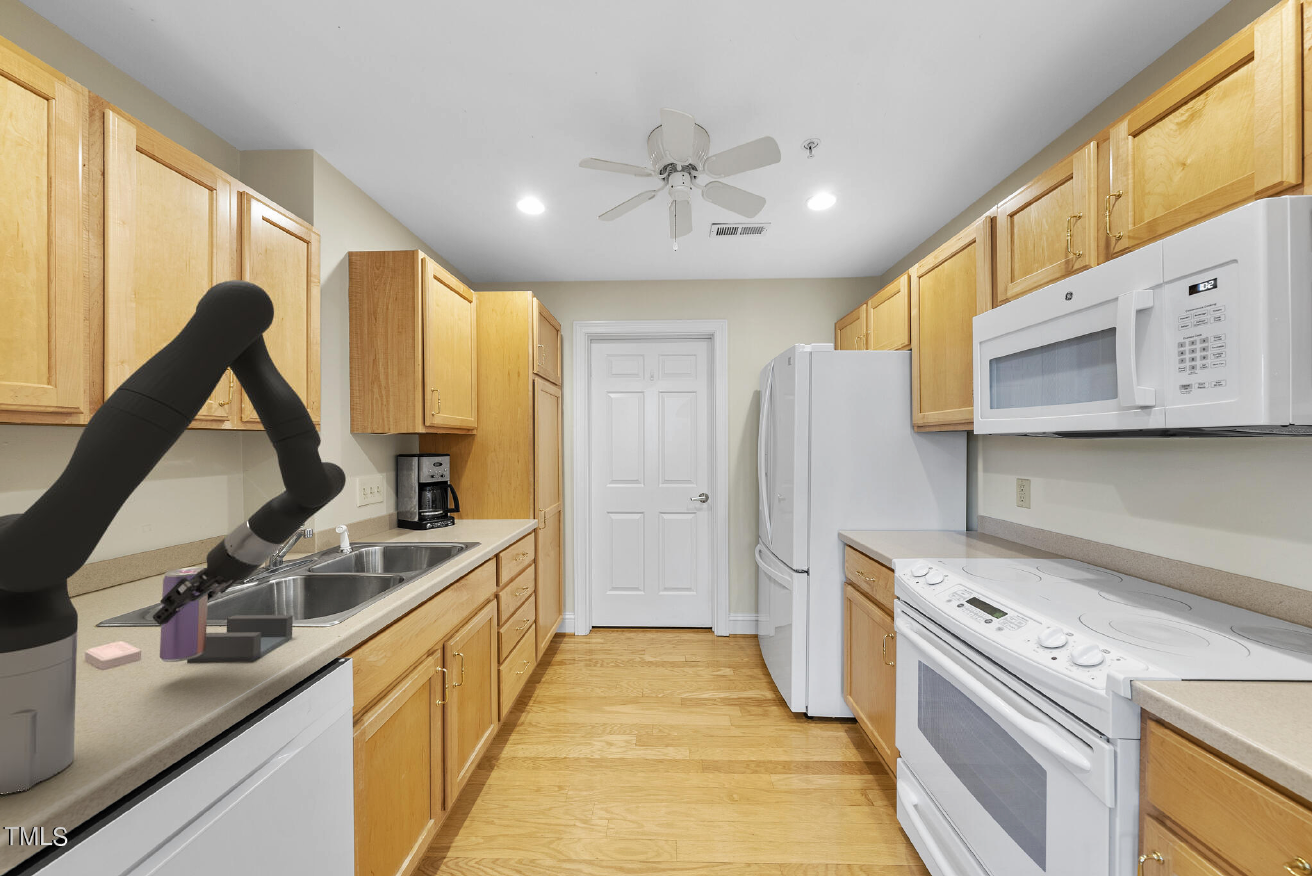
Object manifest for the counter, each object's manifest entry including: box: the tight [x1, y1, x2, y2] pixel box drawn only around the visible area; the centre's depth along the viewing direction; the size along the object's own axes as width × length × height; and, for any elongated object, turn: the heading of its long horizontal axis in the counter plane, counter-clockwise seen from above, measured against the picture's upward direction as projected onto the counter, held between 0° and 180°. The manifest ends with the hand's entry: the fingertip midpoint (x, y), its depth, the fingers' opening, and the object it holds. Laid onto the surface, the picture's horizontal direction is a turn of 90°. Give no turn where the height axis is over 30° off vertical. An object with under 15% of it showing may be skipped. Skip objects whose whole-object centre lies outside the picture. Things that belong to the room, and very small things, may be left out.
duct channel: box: [186, 614, 294, 664], centre depth 105 cm, size 12×12×5 cm
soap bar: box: [84, 640, 142, 671], centre depth 99 cm, size 5×9×2 cm, turn 63°
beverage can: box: [159, 566, 209, 663], centre depth 91 cm, size 6×6×15 cm
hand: (174, 614), depth 90 cm, fingers closed on beverage can, 5 cm apart
